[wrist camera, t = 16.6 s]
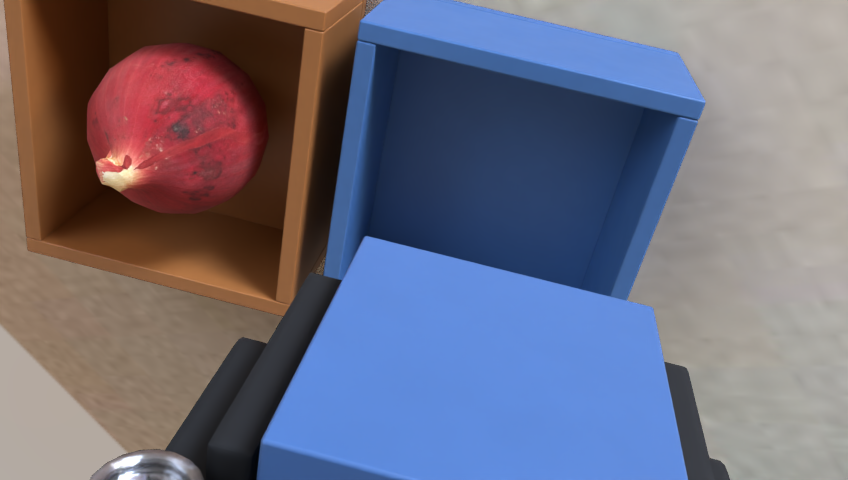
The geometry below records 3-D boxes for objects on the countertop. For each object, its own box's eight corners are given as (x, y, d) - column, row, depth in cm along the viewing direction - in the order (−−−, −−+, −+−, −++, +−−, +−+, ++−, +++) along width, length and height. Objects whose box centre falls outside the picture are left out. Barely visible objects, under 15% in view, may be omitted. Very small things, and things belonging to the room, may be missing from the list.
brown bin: (99, -83, 27) (-4, -66, 22) (369, -20, 26) (326, 11, 21) (107, 189, 32) (27, 250, 27) (331, 245, 32) (289, 318, 27)
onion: (242, -6, 27) (130, 46, 20) (323, 132, 29) (246, 224, 22) (124, 62, 29) (-16, 132, 22) (207, 186, 31) (104, 286, 24)
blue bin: (396, -14, 26) (359, 19, 21) (678, 52, 26) (706, 101, 21) (353, 251, 32) (315, 325, 27) (584, 309, 31) (589, 395, 26)
